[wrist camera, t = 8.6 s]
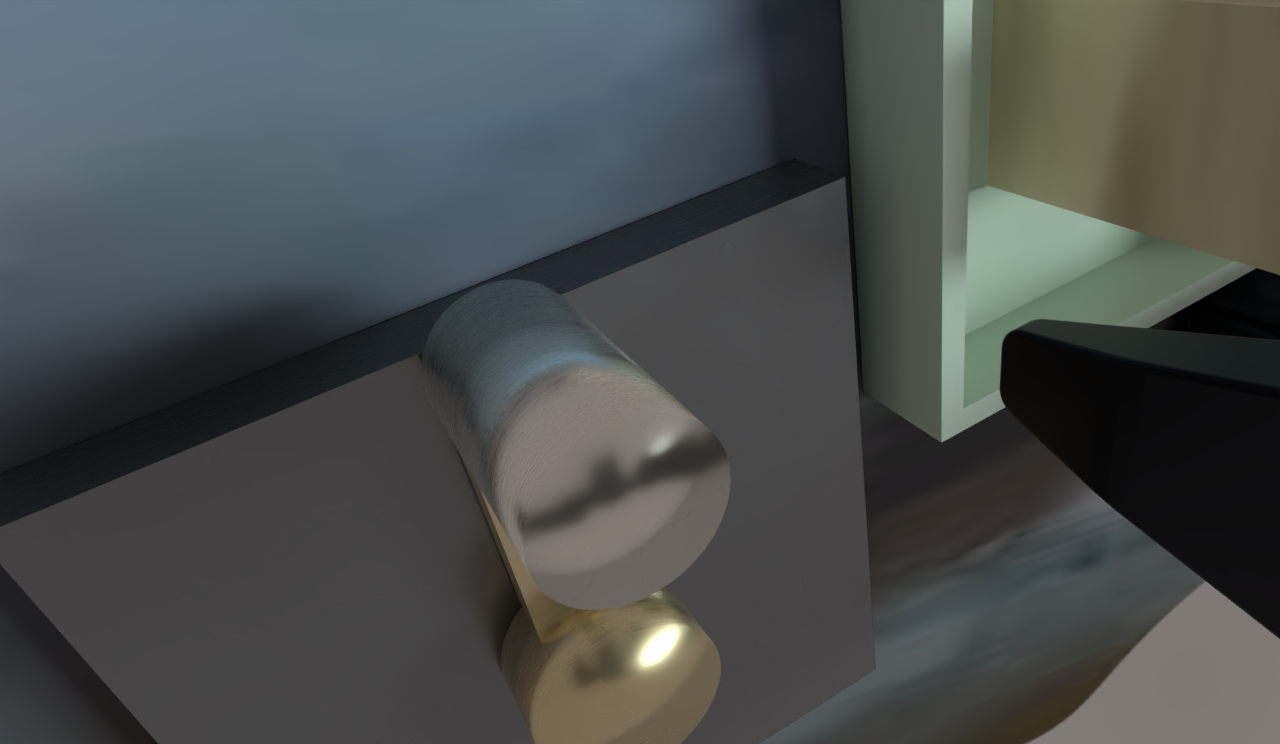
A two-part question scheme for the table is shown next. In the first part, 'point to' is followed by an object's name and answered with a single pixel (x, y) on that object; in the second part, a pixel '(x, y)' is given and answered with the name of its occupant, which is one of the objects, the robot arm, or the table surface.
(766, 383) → the crank base
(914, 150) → the tray
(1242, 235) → the block
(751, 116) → the table surface
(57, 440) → the table surface
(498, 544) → the crank
